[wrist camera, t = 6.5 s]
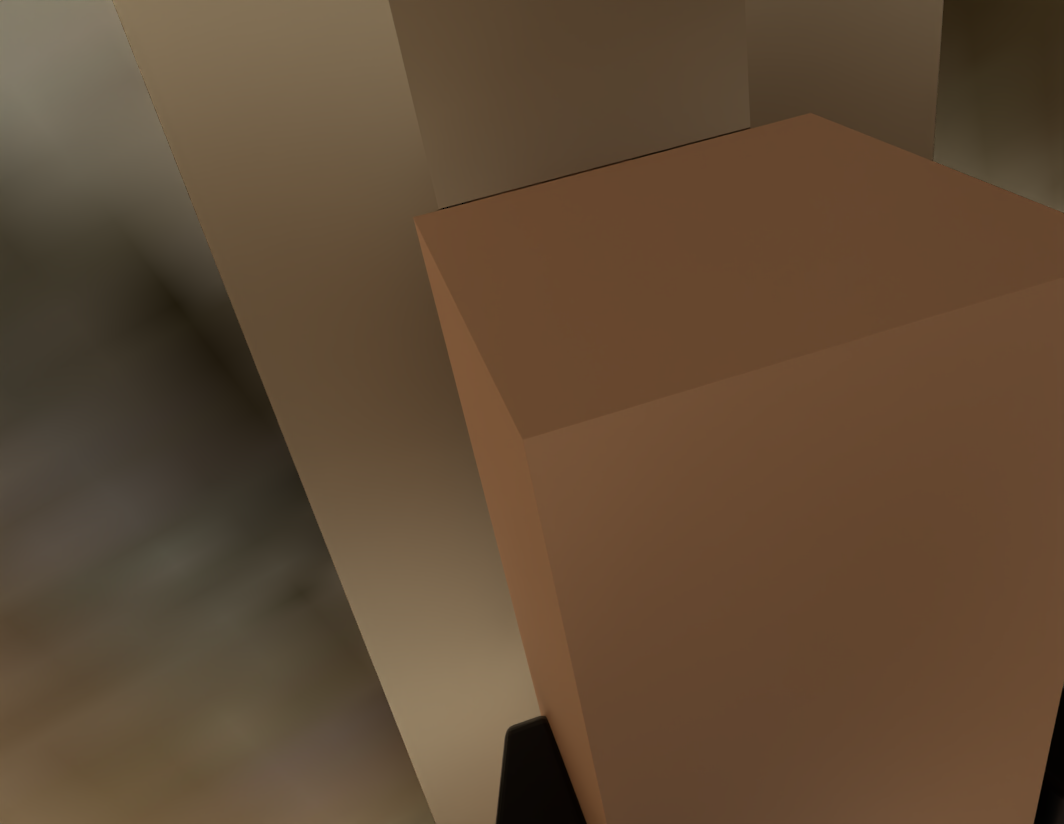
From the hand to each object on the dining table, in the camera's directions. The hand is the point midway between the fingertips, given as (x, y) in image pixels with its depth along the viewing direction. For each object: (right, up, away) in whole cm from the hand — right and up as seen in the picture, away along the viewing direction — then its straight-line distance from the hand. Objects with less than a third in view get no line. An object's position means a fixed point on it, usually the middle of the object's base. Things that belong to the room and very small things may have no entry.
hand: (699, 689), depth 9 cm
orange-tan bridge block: (-1, +1, +2) cm, 3 cm away
